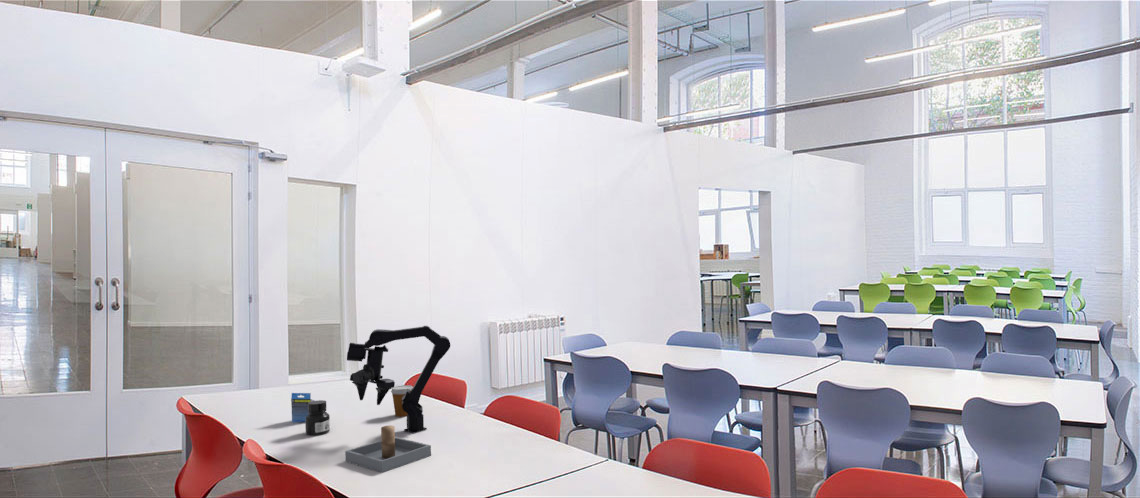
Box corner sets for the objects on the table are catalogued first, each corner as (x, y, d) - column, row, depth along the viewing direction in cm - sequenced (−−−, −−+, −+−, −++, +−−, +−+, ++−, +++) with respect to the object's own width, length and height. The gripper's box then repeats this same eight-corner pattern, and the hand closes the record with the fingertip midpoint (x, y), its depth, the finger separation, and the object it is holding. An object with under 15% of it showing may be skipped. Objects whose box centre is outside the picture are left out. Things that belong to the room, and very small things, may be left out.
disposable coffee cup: (411, 417, 273) (410, 389, 273) (388, 418, 273) (388, 389, 273) (416, 412, 283) (416, 384, 283) (395, 412, 283) (394, 385, 283)
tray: (431, 455, 221) (430, 445, 221) (382, 472, 205) (382, 461, 205) (394, 446, 233) (393, 436, 233) (345, 461, 217) (345, 451, 217)
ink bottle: (320, 436, 248) (320, 405, 248) (300, 435, 250) (299, 404, 250) (334, 429, 257) (334, 399, 257) (315, 428, 259) (314, 399, 259)
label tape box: (316, 419, 274) (315, 390, 274) (311, 422, 270) (310, 393, 270) (296, 419, 275) (295, 391, 275) (291, 422, 271) (290, 393, 271)
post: (395, 454, 221) (394, 425, 221) (394, 458, 217) (394, 428, 217) (382, 455, 220) (381, 426, 220) (381, 459, 216) (380, 429, 216)
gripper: (341, 359, 247) (336, 400, 247) (376, 367, 238) (371, 410, 238) (363, 358, 257) (358, 397, 257) (397, 365, 248) (393, 406, 247)
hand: (369, 402), depth 249 cm, fingers open, 9 cm apart
